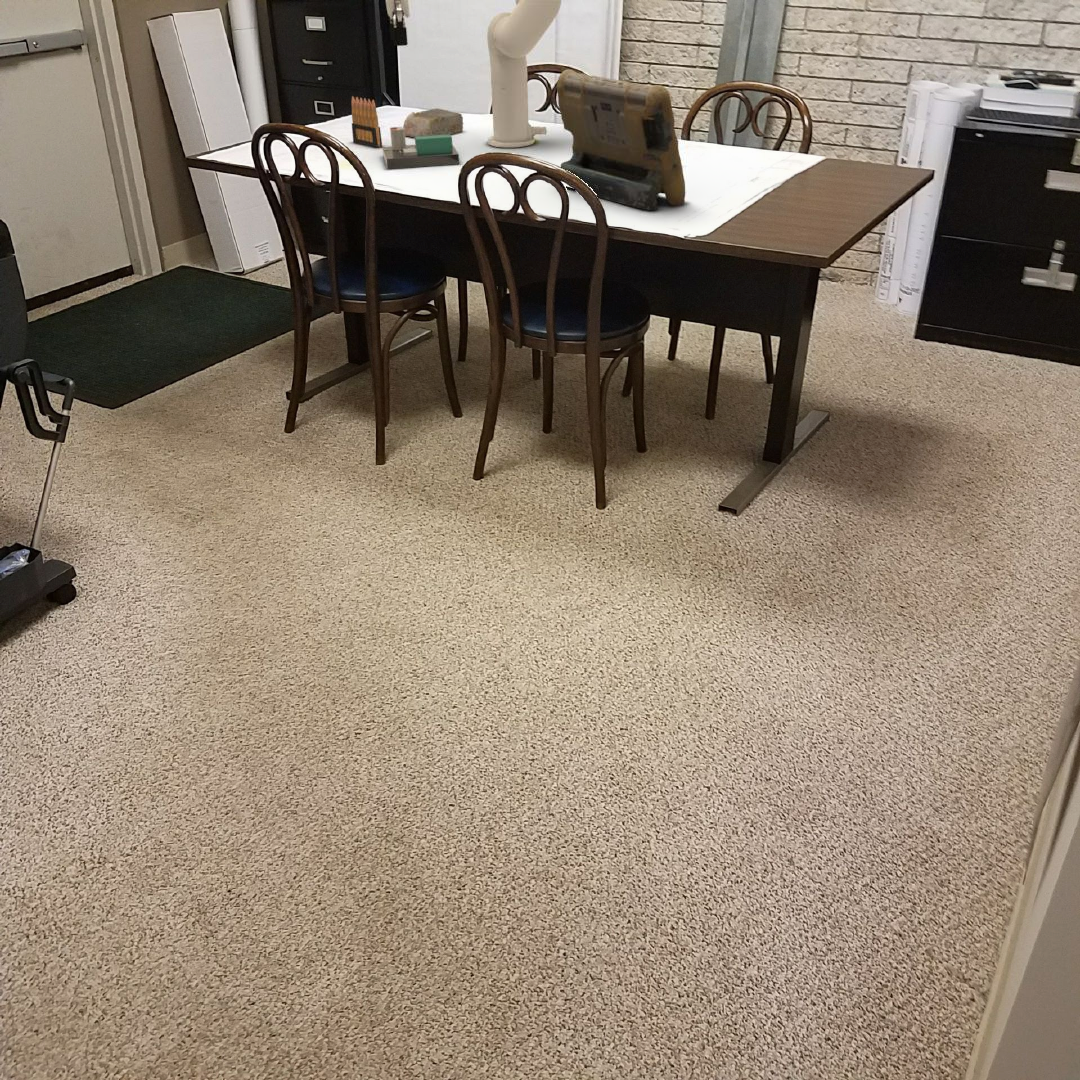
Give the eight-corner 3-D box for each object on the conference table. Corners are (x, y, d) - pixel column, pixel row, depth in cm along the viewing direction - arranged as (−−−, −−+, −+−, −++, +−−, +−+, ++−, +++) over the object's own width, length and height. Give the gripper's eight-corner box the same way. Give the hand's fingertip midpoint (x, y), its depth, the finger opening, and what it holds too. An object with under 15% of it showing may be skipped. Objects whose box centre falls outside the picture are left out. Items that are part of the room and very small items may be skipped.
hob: (451, 152, 279) (451, 141, 277) (459, 164, 267) (458, 153, 266) (383, 157, 276) (382, 146, 274) (387, 169, 264) (386, 158, 263)
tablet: (696, 200, 233) (703, 78, 219) (655, 214, 225) (659, 87, 211) (588, 177, 253) (588, 63, 239) (547, 188, 245) (544, 71, 231)
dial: (405, 147, 273) (403, 125, 271) (406, 150, 270) (404, 128, 268) (391, 147, 273) (389, 126, 270) (392, 151, 270) (390, 129, 267)
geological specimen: (465, 112, 298) (426, 118, 288) (465, 135, 301) (426, 141, 291) (438, 107, 304) (399, 112, 294) (438, 129, 307) (400, 135, 297)
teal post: (453, 153, 267) (452, 137, 265) (404, 156, 265) (403, 140, 263) (450, 149, 270) (449, 134, 268) (403, 153, 268) (401, 137, 266)
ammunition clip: (382, 147, 286) (377, 99, 279) (377, 148, 285) (372, 100, 278) (358, 141, 292) (353, 95, 286) (353, 142, 291) (347, 96, 285)
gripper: (411, -33, 250) (417, 46, 260) (404, -38, 265) (410, 37, 274) (379, -32, 249) (387, 48, 258) (374, -37, 264) (381, 39, 273)
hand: (399, 42), depth 266 cm, fingers open, 9 cm apart
